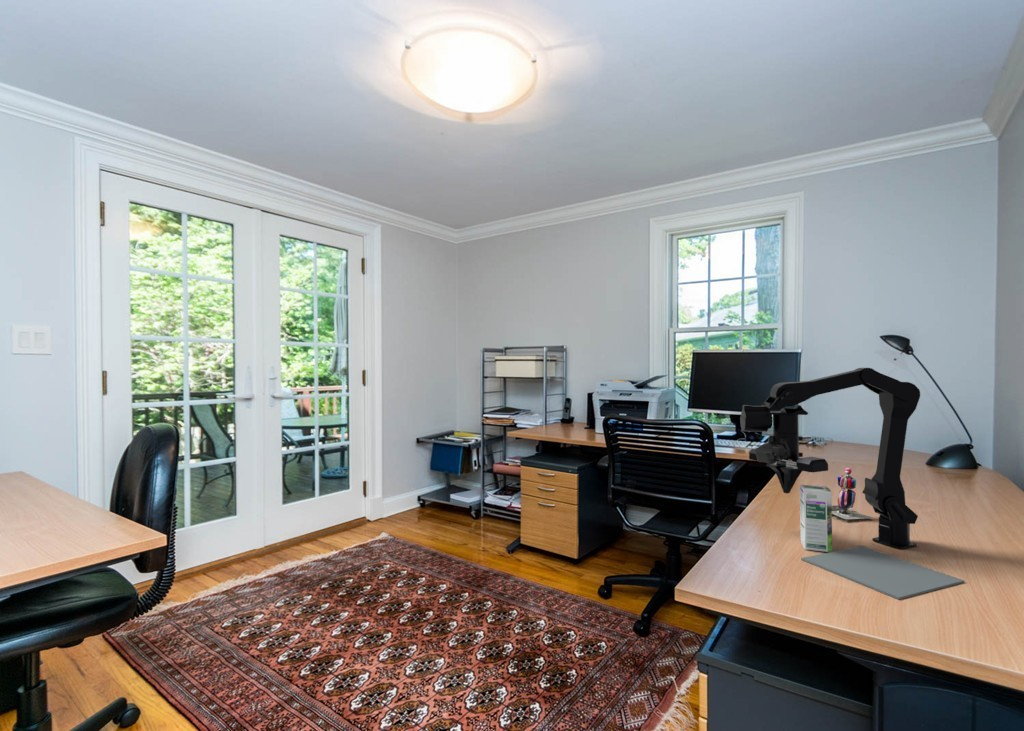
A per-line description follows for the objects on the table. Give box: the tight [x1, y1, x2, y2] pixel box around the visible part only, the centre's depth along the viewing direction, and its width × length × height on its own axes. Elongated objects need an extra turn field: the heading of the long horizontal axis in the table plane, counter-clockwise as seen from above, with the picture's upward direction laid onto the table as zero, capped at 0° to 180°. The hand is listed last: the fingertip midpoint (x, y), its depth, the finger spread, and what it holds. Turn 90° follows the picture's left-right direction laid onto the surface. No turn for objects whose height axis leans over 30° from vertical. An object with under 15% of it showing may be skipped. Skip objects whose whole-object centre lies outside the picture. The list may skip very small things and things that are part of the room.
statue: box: [832, 467, 873, 523], centre depth 140 cm, size 11×9×15 cm
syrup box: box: [799, 484, 833, 553], centre depth 116 cm, size 6×6×14 cm
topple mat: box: [800, 545, 965, 600], centre depth 103 cm, size 20×20×1 cm
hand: (786, 493), depth 124 cm, fingers closed
